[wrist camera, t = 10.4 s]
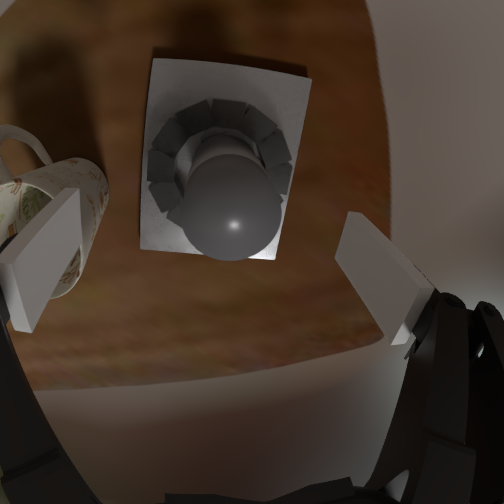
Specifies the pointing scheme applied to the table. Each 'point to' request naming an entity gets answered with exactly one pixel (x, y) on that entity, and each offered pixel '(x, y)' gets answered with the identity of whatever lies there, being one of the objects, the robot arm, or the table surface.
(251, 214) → the lens
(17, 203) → the mug
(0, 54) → the table surface
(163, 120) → the mount
